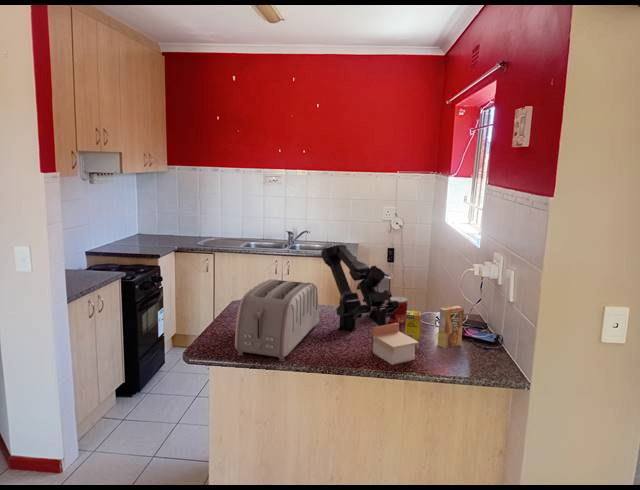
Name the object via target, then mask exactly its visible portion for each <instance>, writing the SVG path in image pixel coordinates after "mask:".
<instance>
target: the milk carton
mask: <svg viewBox="0 0 640 490" xmlns="http://www.w3.org/2000/svg"><path fill="white" fill-rule="evenodd" d="M383 272H384V271H383ZM384 274H385V277H384V279H383V280H382V281H381V282H380V283H379V285H378V286H377V287H375V289H376V291H377V292H378V291H379V292H380V293H381V292H384V290H390V291H391V290H392V289H391V287H392V277H390V275H391V274H390V273H388V272H384ZM391 292H392V291H391ZM389 301H390V298H389V300H385V303H384V304H382V305H386V304H387V303H388V302H389ZM386 317H389V313H388V314H387V313H386Z"/></svg>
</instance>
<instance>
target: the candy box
mask: <svg viewBox="0 0 640 490" xmlns="http://www.w3.org/2000/svg"><path fill="white" fill-rule="evenodd" d="M464 312H465V310H464V308H463V307H461V306H459V305H454V306H447V307H440V309H439V319H438V320H439V321H438V331H437V332H438V333H437V346H439V347H441V348H442V349H446V348H452V347H457V346H461V345H462V337H463V326H464V325H463V324H464Z"/></svg>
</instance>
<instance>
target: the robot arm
mask: <svg viewBox="0 0 640 490" xmlns="http://www.w3.org/2000/svg"><path fill="white" fill-rule="evenodd" d="M350 251H351V250H349V249H348V247H347V246H346V245H345V244H335V245H333V246H331V247H324V248H323V249H322V250H321V253H320V256H321V259H322V260H323V262H324V264H325V265H326V266H328V267H329V268H330V269H331V274H332V276H333V278H334V281H335V284H336V287H337V290H338V293H339V295H340V297H339V306H338V307H337V308H336V315H337V316H339V327H337V330H342V331H348V332H353V331H354V330H355V329H356V328H357V327H358V319H362V316H363V314H368V316H367V319H370V320H371V321H372V322H374V323H375V324H376V326H382V325H387V320H386V318H387V316H386V313H387V314H388V313H393V312H394V311H395V310H396V309H397V308H398V307H399V306H400V305H399V302H398V301H396V300H394V301H389V302H388V303H387V304H386V305H382V304H384V303H385V300H389V298H391V297H393V294H392V291H390V290H384V292H381V293H380V292H379V291H378V292H377V291H376V289H375V287H377V286H378V285H379V283H380V282H381V281H382V280H383V279H384V277H385V274H384V271H383V270H382V269H381V268H378V267H377V265H371V266H370V267H369V265H367V264H366V263H364V262H362V261H359V260H358V259H357V258H356V257H355V256H354V254H353V253H352V252H350ZM341 262H343V263H344V265H345V266H346V267H347V268H348V270H349V273H348V274H349V275H350V276H351V278H352V280H353V281H355V282H356V281H359V282H358V283H357V286H356V290H360V292H361V295H362V298H363V299H362V301H363V303H365V304H361V303H362V302H361V299H360V298H359V295H358V293H357V292H353V291H352V290H351V287H350V284H349V282H348V279H347V276H346V274H345V271H344V269H343V266H342V264H341Z"/></svg>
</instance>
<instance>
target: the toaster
mask: <svg viewBox="0 0 640 490" xmlns="http://www.w3.org/2000/svg"><path fill="white" fill-rule="evenodd" d="M318 294H319V293H318V287H317V285H316V284H314V283H311V282H298V281H292V280H291V281H290V280H280V279H275V278H273V279H272V278H271V279H268V280H265V281H262V282H261V283H258V285H256V286H253V288H251V289H249V291H247V292H246V293H245V294H244V295H243V296H242V298H241V299H240V300H239V301H240V302H239V305H238V309H237V317H236V323H235V334H234V335H235V337H234V348H235V349H236V351H237V355H238V354H243V353H249V354H254V355H255V354H257V355H263V356H269V357H270V356H271V357H275V358H276V357H277V358H278V362H279V361H284V362H285V361H286V360H285V357H287V356H288V355H289V354H290V353H291V352H292V351H293V349H295V347H296V346H297V345H298V344H300V342H302V340H303V339H304V338H305V336H307V335H308V334H309V332H311V331H312V329H313V328H316V326H317V324H318V323H319V321H320V304H319V295H318ZM317 327H318V326H317Z"/></svg>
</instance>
